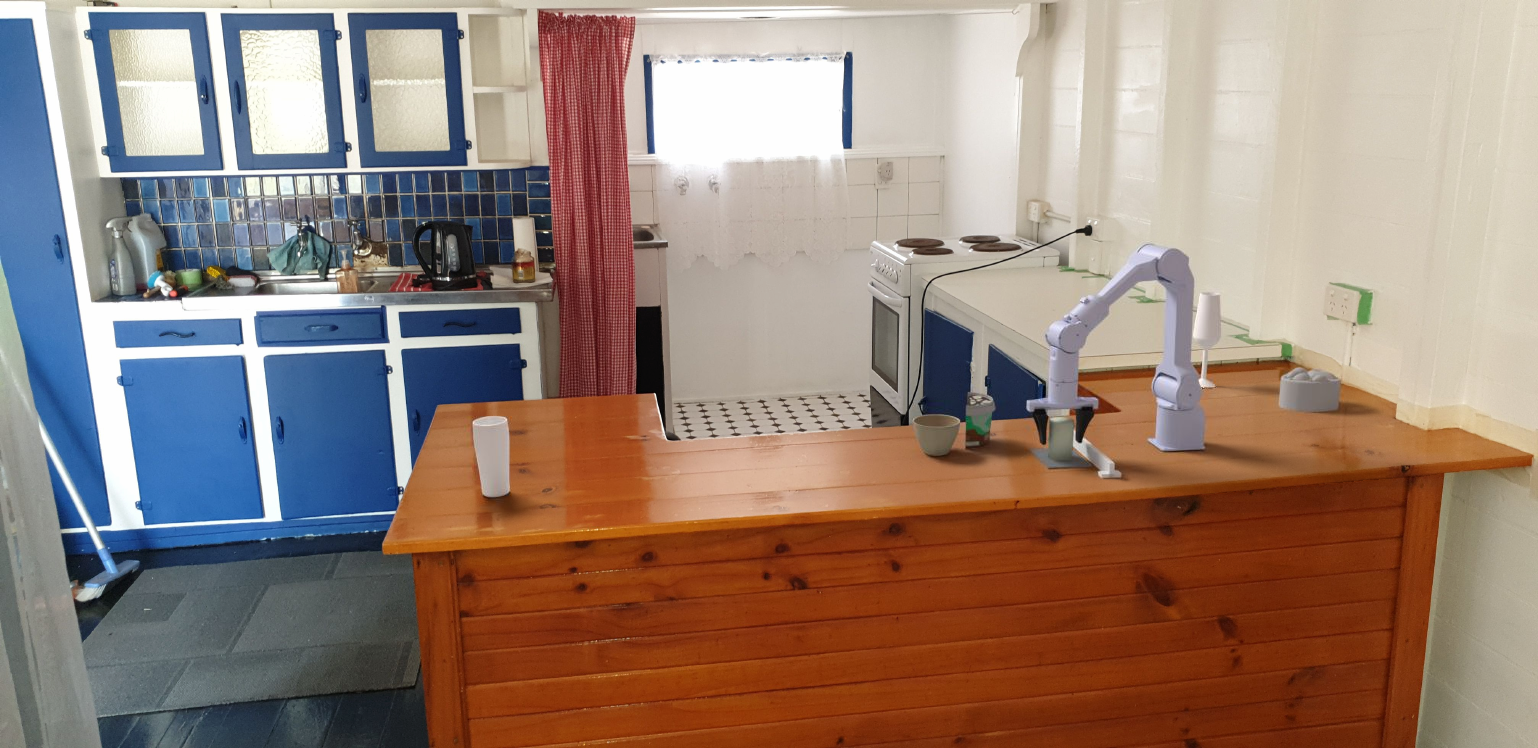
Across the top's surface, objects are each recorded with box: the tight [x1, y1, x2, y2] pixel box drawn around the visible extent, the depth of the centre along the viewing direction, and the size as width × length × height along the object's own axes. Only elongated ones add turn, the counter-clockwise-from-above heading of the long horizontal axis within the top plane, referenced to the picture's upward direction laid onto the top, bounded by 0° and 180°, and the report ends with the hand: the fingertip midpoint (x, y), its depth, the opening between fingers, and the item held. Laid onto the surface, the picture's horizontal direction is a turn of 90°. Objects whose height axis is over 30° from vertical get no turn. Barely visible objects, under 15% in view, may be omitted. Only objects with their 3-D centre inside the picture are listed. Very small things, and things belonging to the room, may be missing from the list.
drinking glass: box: [472, 415, 511, 498], centre depth 219 cm, size 7×7×15 cm
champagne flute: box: [1192, 291, 1222, 388], centre depth 285 cm, size 7×7×24 cm
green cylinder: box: [1047, 416, 1075, 461], centre depth 233 cm, size 5×5×8 cm
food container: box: [964, 391, 996, 450], centre depth 244 cm, size 12×6×10 cm, turn 168°
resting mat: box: [1029, 448, 1092, 470], centre depth 234 cm, size 9×12×1 cm
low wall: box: [1073, 429, 1122, 479], centre depth 234 cm, size 4×26×3 cm, turn 5°
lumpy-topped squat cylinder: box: [1278, 366, 1342, 413], centre depth 267 cm, size 10×13×9 cm
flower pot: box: [912, 414, 961, 457], centre depth 239 cm, size 10×10×7 cm
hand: (1060, 442), depth 233 cm, fingers open, 7 cm apart
